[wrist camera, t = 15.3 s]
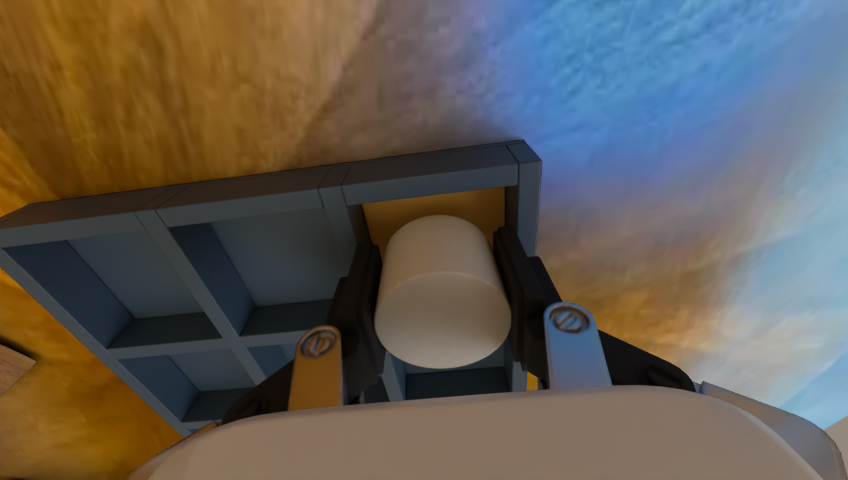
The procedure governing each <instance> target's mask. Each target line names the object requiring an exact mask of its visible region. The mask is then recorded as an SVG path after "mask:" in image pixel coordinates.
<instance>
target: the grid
mask: <svg viewBox="0 0 848 480" xmlns="http://www.w3.org/2000/svg"><path fill="white" fill-rule="evenodd" d="M541 175H542V160H541V159H540V158H539V156H538V155H537V154H536V153H535V152H534V151H533V150H532V149H531V148H530V146H529V145H528V144H527V143H526V142H525V140H516V141H509V142H501V143H493V144H486V145H478V146H471V147H463V148H455V149H448V150H440V151H432V152H425V153H417V154H410V155H402V156H394V157H387V158H379V159H372V160H364V161H356V162H349V163H341V164H333V165H326V166H318V167H311V168H303V169H295V170H288V171H280V172H273V173H265V174H257V175H250V176H242V177H234V178H227V179H219V180H212V181H204V182H196V183H189V184H181V185H174V186H166V187H158V188H151V189H143V190H135V191H128V192H120V193H113V194H105V195H97V196H90V197H82V198H75V199H67V200H59V201H52V202H44V203H37V204H29V205H26V206H24V207H22V208H21V209H18V210H16V211H13V212H11V213H9V214H7V215H4V216H2V217H0V267H1V268H2V269H3V270H4V271H5V272H6V273H7V274H8V275H9V276H10V277H12V278H13V279H14V280H15V281H16V282H17V283H18V284H19V285H20V286H21V287H22V288H23V289H24V290H26V291H27V292H28V293H29V294H30V295H31V296H32V297H33V298H34V299H35V300H36V301H37V302H38V303H40V304H41V305H42V306H43V307H44V308H45V309H46V310H47V311H48V312H49V313H50V314H51V315H52V316H54V317H55V318H56V319H57V320H58V321H59V322H60V323H61V324H62V325H63V326H64V327H65V328H66V329H68V330H69V331H70V332H71V333H72V334H73V335H74V336H75V337H76V338H77V339H78V340H79V341H80V342H82V343H83V344H84V345H85V346H86V347H87V348H88V349H89V350H90V351H91V352H92V353H93V354H94V355H95V356H97V357H98V358H99V359H100V360H101V361H102V362H103V363H104V364H105V365H106V366H107V367H108V368H109V369H111V370H112V371H113V372H114V373H115V374H116V375H117V376H118V377H119V378H120V379H121V380H122V381H123V382H125V383H126V384H127V385H128V386H129V387H130V388H131V389H132V390H133V391H134V392H135V393H136V394H137V395H139V396H140V397H141V398H142V399H143V400H144V401H145V402H146V403H147V404H148V405H149V406H150V407H151V408H153V409H154V410H155V411H156V412H157V413H158V414H159V415H160V416H161V417H162V418H163V419H164V420H165V421H167V422H168V423H169V424H170V425H171V426H172V427H173V428H174V429H175V430H176V431H177V432H178V433H179V434H180V435H182V436H183V437H184V438H185V437H187V436H189V435H190V434H192V433H194V432H195V431H197V430H199V429H200V428H202V427H204V426H205V425H207V424H208V423H210V422H212V421H213V420H216V421H217V422H219V421H221V420H222V419H223V417H224V415H225V413H226V412H227V410H228V409H229V408H230V407H231V405H232V404H233V403H235V402H236V401H237V400H238V399H239V398H240V397H242V396H243V395H245V394H246V393H247V392H249V391H250V390H251V389H253V388H254V387H256V386H257V385H258V384H260V383H261V382H262V381H264V380H265V379H267V378H268V377H269V376H271V375H272V374H274V373H275V372H276V371H278V370H279V369H280V368H282V367H283V366H285V365H286V364H287V363H289V362H290V361H291V360H293V359H294V355H295V348H296V345H297V342H298V341H299V339H300V338H301V337H302V336H303V335H304V334H305V333H306V332H307V331H309V330H311V329H312V328H315V327H318V326H322V325H324V324H325V321H326V318H327V315H328V312H329V309H330V306H331V303H332V300H333V297H334V294H335V291H336V288H337V285H338V282H339V279H340V278H341V277H346V276H348V273H349V270H350V267H351V263H352V260H353V257H354V254H355V250H356V247H357V244H358V243H363V242H373V244H374V245H378V247H379V250H380V254H381V258H382V262H383V259H384V253H385V249H386V246H387V244H388V242H389V240H390V239H391V238H392V236H393V235H394V234H395V233H396V232H397V231H398V230H399V229H400V228H402V227H403V226H404V225H406V224H408V223H409V222H411V221H414V220H416V219H419V218H422V217H426V216H431V215H448V216H454V217H458V218H461V219H464V220H466V221H468V222H470V223H472V224H473V225H475V226H476V227H477V228H479V229H480V230H481V231H482V232H483V233H484V234H485V236H486V237H487V239H488V240H489V242H490V245H491V247H492V250H493V231H498V227H503V226H513V227H514V229H515V231H516V233H517V235H518V237H519V239H520V242H521V244H522V246H523V248H524V250H525V252H526V255H527V257H532V256H536V245H537V231H538V217H539V203H540V189H541ZM527 372H528V371H526V372H523V371H522V368H521V364H520V362H514V359H513V356H512V352H511V348H510V345H509V341H508V338H506V339H505V340H504V342H503V343H502V344H501V345H500V346H499V347H498V348H497V349H496V350H495V351H494V352H493V353H491V354H490V355H488V356H487V357H485V358H483V359H481V360H479V361H476V362H474V363H471V364H468V365H465V366H460V367H454V368H442V369H439V368H426V367H421V366H416V365H413V364H410V363H407V362H405V361H403V360H401V359H399V358H397V357H395V356H394V355H393V354H391V353H390V352H389V351H388V350H387V349H386V354H385V363H384V371H383V374H378V382H377V384H371V385H369V386H368V387H367V388H366V389H365V390H364V391H363V392H364V400H365V404H370V403H381V402H393V401H405V400H417V399H430V398H442V397H455V396H467V395H480V394H493V393H507V392H520V391H526V386H527Z"/></svg>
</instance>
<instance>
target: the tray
mask: <svg viewBox="0 0 848 480" xmlns="http://www.w3.org/2000/svg"><path fill="white" fill-rule="evenodd" d="M35 363H36V361H35V360H33V359H31V358H29V357H27V356H25V355H22V354H20V353H18V352H16V351H14V350H12V349H10V348H8V347H6V346H3V345H1V344H0V396H1V395H2V394H3V393H4V392H5V391H6V390H7V389H9V388H10V387H11V386H12V385H13V384H14V383H15V382H17V381H18V380H19V379H20V378H21V377H22V376H23V375H24V374H25V373H26V372H27V371H28V370H29V369H30V368H31V367H32V366H33V365H34V364H35Z"/></svg>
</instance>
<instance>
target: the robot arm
mask: <svg viewBox="0 0 848 480" xmlns="http://www.w3.org/2000/svg"><path fill="white" fill-rule="evenodd" d="M493 253H494V256H495V260H496V263H497V266H498V269H499V272H500V275H501V278H502V281H503V284H504V287H505V291H506V294H507V297H508V300H509V303H510V306H511V311H512V322H511V328H510V332H509V334H508V336H507V338H508V341H509V345H510V348H511V352H512V356H513V359H514V362H520V364H521V368H522V371H523V372H526V371H528V372H530V373H531V374H533V375H535V376H536V377H538V379H537V380H538V390H533V391H520V392H507V393H493V394H480V395H467V396H455V397H442V398H430V399H417V400H405V401H393V402H381V403H370V404H365V400H364V392H363V391H364V390H365V389H366V388H367V387H368V386H369V385H371V384H377V382H378V374H383V371H384V363H385V354H386V349H385V347H384V346H383V345H382V344H381V342H380V341H379V339H378V337H377V335H376V332H375V328H374V313H375V307H376V301H377V295H378V289H379V283H380V277H381V271H382V265H383V262H382V258H381V254H380V250H379V247H378V245H374V244H373V242H363V243H358V244H357V247H356V250H355V254H354V257H353V260H352V263H351V267H350V270H349V273H348V276H346V277H341V278H340V279H339V282H338V285H337V288H336V291H335V294H334V297H333V300H332V303H331V306H330V309H329V312H328V315H327V318H326V321H325V324H324V325H322V326H318V327H315V328H312V329H311V330H309V331H307V332H306V333H305V334H304V335H303V336H302V337H301V338H300V339H299V341H298V342H297V345H296V348H295V355H294V359H293V360H291V361H290V362H289V363H287V364H286V365H285V366H283V367H282V368H280V369H279V370H278V371H276V372H275V373H274V374H272V375H271V376H269V377H268V378H267V379H265V380H264V381H262V382H261V383H260V384H258V385H257V386H256V387H254V388H253V389H251V390H250V391H249V392H247V393H246V394H245V395H243V396H242V397H240V398H239V399H238V400H237V401H236V402H235V403H233V404H232V405H231V407H230V408H229V409H228V410H227V412H226V413H225V415H224V417H223V419H222V420H221V421H219V422H217V421H216V420H213V421H212V422H210V423H208V424H207V425H205V426H204V427H202V428H200V429H199V430H197V431H195V432H194V433H192V434H190V435H189V436H187V437H185V438H184V439H182V440H180V441H179V442H177V443H175V444H174V445H172V446H170V447H169V448H167V449H165V450H164V451H162V452H160V453H159V454H157V455H155V456H154V457H152V458H150V459H149V460H147V461H146V462H144V463H143V464H141V465H140V466H139V467H137V468H136V469H135V470H134V471H133V472H132V473H131V474H130V475H129V476H128V477H127V479H126V480H848V477H847V473H846V470H845V466H844V462H843V458H842V455H841V452H840V451H839V449H838V447H837V445H836V443H835V442H834V441H833V440H832V439H831V438H830V437H829V436H828V434H827V433H826V432H825V431H823V430H822V429H820V428H819V427H818V426H816V425H815V424H813V423H812V422H810V421H808V420H806V419H804V418H802V417H800V416H797V415H795V414H792V413H789V412H787V411H784V410H781V409H778V408H776V407H773V406H770V405H768V404H765V403H762V402H759V401H757V400H754V399H751V398H748V397H746V396H743V395H740V394H737V393H735V392H732V391H729V390H726V389H724V388H721V387H718V386H715V385H713V384H710V383H707V382H705V381H703V382H702V383H701V384H698V383H695V382H692V380H691V379H690V378H689V376H688V375H687V374H686V373H685V372H683V371H682V370H681V369H680V368H678V367H677V366H675V365H673V364H671V363H670V362H667V361H665V360H663V359H661V358H659V357H657V356H654V355H652V354H650V353H648V352H646V351H644V350H641V349H639V348H637V347H635V346H633V345H631V344H628V343H626V342H624V341H622V340H620V339H618V338H615V337H613V336H611V335H609V334H607V333H605V332H602V331H600V330H598V329H597V326H596V322H595V319H594V317H593V315H592V314H591V313H590V312H589V311H588V310H587V309H585V308H584V307H582V306H580V305H577V304H575V303H570V302H562V300H561V298H560V296H559V294H558V292H557V290H556V288H555V286H554V284H553V282H552V280H551V278H550V276H549V274H548V273H547V271H546V269H545V267H544V265H543V263H542V261H541V259H540V258H539V257H538V256H532V257H527V255H526V252H525V250H524V248H523V246H522V244H521V242H520V239H519V237H518V235H517V233H516V231H515V229H514V227H513V226H503V227H498V231H493Z"/></svg>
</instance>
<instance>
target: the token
mask: <svg viewBox="0 0 848 480" xmlns="http://www.w3.org/2000/svg"><path fill="white" fill-rule="evenodd" d="M511 322H512V311H511V306H510V303H509V300H508V297H507V294H506V291H505V287H504V284H503V281H502V278H501V275H500V272H499V269H498V266H497V263H496V260H495V256H494V253H493V250H492V247H491V245H490V242H489V240H488V239H487V237H486V236H485V234H484V233H483V232H482V231H481V230H480V229H479V228H477V227H476V226H475V225H473V224H472V223H470V222H468V221H466V220H464V219H461V218H458V217H454V216H448V215H431V216H426V217H422V218H419V219H416V220H414V221H411V222H409V223H408V224H406V225H404V226H403V227H402V228H400V229H399V230H398V231H397V232H396V233H395V234H394V235H393V236H392V238H391V239H390V240H389V242H388V244H387V246H386V249H385V253H384V259H383V265H382V271H381V277H380V283H379V289H378V295H377V301H376V307H375V313H374V328H375V332H376V335H377V337H378V339H379V341H380V342H381V344H382V345H383V346H384V347H385V349H387V350H388V351H389V352H390V353H391V354H393V355H394V356H395V357H397V358H399V359H401V360H403V361H405V362H407V363H410V364H413V365H416V366H421V367H426V368H439V369H442V368H454V367H460V366H465V365H468V364H471V363H474V362H476V361H479V360H481V359H483V358H485V357H487V356H488V355H490V354H491V353H493V352H494V351H495V350H496V349H497V348H498V347H499V346H500V345H501V344H502V343H503V342H504V340H505V339H506V338H507V336H508V334H509V332H510V328H511Z"/></svg>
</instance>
